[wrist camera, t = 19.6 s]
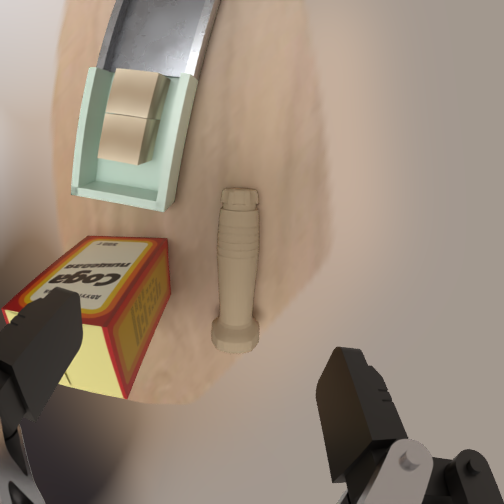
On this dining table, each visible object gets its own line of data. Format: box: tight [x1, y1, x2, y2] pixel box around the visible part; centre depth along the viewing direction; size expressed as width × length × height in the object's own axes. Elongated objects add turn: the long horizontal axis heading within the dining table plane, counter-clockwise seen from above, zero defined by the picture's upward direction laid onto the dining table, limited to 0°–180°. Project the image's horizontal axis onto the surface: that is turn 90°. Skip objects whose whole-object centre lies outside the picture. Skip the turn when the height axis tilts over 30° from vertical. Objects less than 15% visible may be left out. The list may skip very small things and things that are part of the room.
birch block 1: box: [106, 68, 171, 120], centre depth 24 cm, size 4×4×4 cm
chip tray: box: [71, 67, 198, 212], centre depth 25 cm, size 12×10×4 cm
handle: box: [211, 188, 259, 354], centre depth 30 cm, size 5×6×15 cm
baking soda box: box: [1, 236, 171, 399], centre depth 25 cm, size 10×6×16 cm
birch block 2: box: [97, 113, 160, 165], centre depth 25 cm, size 4×4×4 cm
